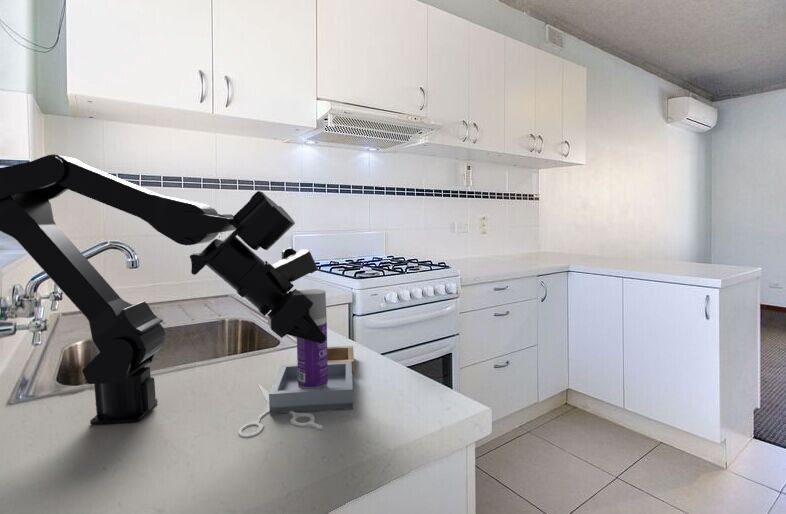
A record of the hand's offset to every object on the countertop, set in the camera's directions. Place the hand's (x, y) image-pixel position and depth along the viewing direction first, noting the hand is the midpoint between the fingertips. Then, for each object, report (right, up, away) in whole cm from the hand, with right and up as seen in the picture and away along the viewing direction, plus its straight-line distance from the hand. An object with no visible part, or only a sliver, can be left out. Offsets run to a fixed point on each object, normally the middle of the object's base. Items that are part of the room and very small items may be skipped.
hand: (320, 336), depth 68 cm
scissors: (-6, -10, -3) cm, 13 cm away
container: (-1, -8, 0) cm, 8 cm away
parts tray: (-1, -9, 0) cm, 9 cm away
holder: (0, -8, +13) cm, 15 cm away
